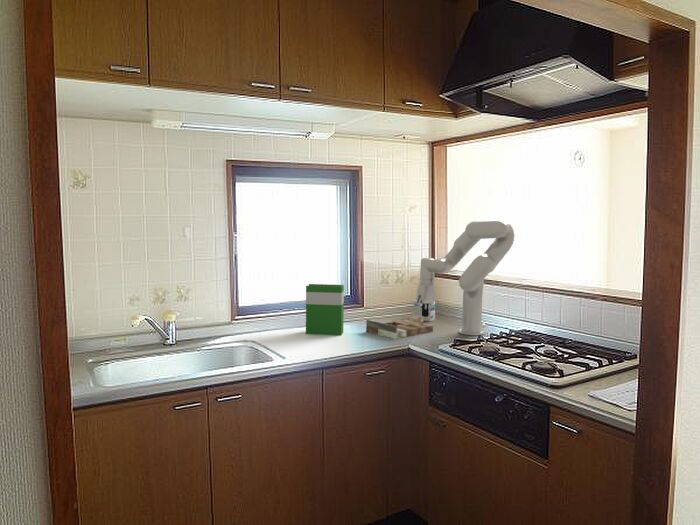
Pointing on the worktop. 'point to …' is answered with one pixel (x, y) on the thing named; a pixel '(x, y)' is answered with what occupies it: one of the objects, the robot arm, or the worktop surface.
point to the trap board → (396, 328)
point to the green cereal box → (324, 309)
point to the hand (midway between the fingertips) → (425, 316)
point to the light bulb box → (419, 312)
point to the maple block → (416, 320)
